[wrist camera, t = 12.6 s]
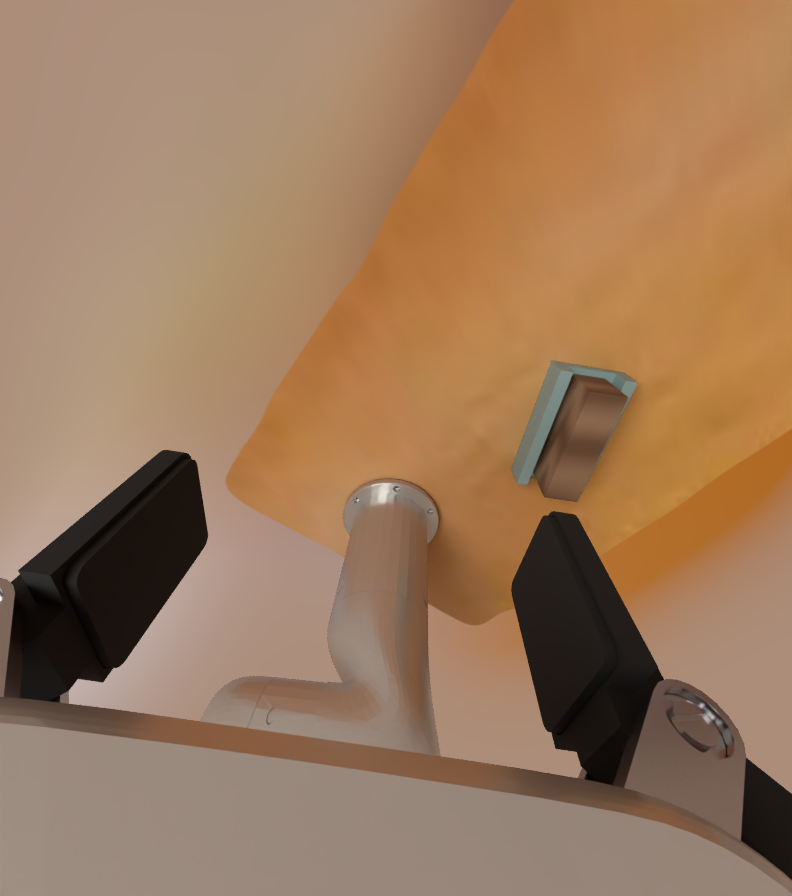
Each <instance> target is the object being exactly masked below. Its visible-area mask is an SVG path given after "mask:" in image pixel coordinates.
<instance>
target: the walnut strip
mask: <svg viewBox="0 0 792 896" xmlns="http://www.w3.org/2000/svg"><path fill="white" fill-rule="evenodd" d="M627 400H628V397H627V396H626V395H625V394H623V393H622V392H621V391H620V390H618V389H617V388H616V387H615V386H614V385H612V384H611V383H610V382H609V381H607V380H606V379H605V378H599V377H592V376H586V375H579V374H573V375H572V377H571V380H570V382H569V385H568V387H567V389H566V392H565V394H564V397H563V399H562V402H561V404H560V407H559V409H558V411H557V414H556V416H555V419H554V421H553V424H552V426H551V428H550V431H549V433H548V436H547V438H546V441H545V443H544V446H543V448H542V450H541V453H540V455H539V458H538V460H537V463H536V465H535V468H534V470H533V473H534V476H535V478H536V480H537V482H538V484H539V487H540V489H541V491H542V493H543V495H544V497H546V498H553V499H560V500H567V501H573V502H577V501H578V499H579V497H580V495H581V493H582V491H583V489H584V487H585V485H586V483H587V480H588V478H589V476H590V474H591V472H592V470H593V468H594V466H595V464H596V462H597V460H598V458H599V456H600V454H601V452H602V450H603V448H604V446H605V444H606V442H607V440H608V438H609V436H610V434H611V432H612V430H613V428H614V426H615V424H616V422H617V420H618V418H619V416H620V414H621V412H622V410H623V408H624V406H625V404H626V402H627Z"/></svg>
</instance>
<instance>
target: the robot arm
mask: <svg viewBox="0 0 792 896" xmlns="http://www.w3.org/2000/svg"><path fill="white" fill-rule="evenodd" d="M343 521H344V526H345V528H346V531H347V532H348V534H349V535H350V538H349V542H348V546H347V551H346V555H345V559H344V563H343V567H342V571H341V575H340V579H339V584H338V588H337V592H336V596H335V600H334V604H333V609H332V612H331V616H330V621H329V625H328V638H327V639H328V647H329V652H330V655H331V658H332V661H333V663H334V666H335V668H336V670H337V672H338V674H339V676H340V678H341V680H342V682H343V683H332V682H328V683H323V682H313V681H305V680H296V679H286V678H277V677H264V676H249V677H242V678H239V679H236V680H233V681H231V682H230V683H228V684H226V685H225V686H224V687H223V688H221V689H220V690H219V691H218V692H217V694H216V695H215V696H214V697H213V699H212V700H211V701H210V703H209V704H208V706H207V708H206V710H205V711H204V713H203V715H202V717H201V720H200V721H193V720H186V719H179V718H172V717H165V716H157V715H151V714H143V713H136V712H129V711H122V710H115V709H107V708H99V707H90V706H82V705H74V704H69V695H68V691H69V689H70V688H71V687H72V686H73V684H74V683H75V682H76V680H77V679H83V680H91V681H97V682H104V680H105V679H106V678H107V676H108V675H109V673H110V672H111V670H112V669H113V668H117V667H119V666H121V665H122V664H123V663H124V661H125V660H126V659H127V658H128V656H129V654H130V653H131V652H132V650H133V649H134V647H135V646H136V645H137V643H138V642H139V640H140V639H141V637H142V636H143V634H144V633H145V632H146V630H147V629H148V627H149V626H150V624H151V623H152V621H153V620H154V619H155V617H156V616H157V614H158V613H159V612H160V610H161V609H162V607H163V606H164V604H165V603H166V601H167V600H168V599H169V597H170V596H171V594H172V593H173V591H174V590H175V589H176V587H177V586H178V584H179V583H180V581H181V580H182V578H183V577H184V576H185V574H186V573H187V571H188V570H189V568H190V567H191V565H192V564H193V563H194V561H195V560H196V558H197V557H198V555H199V554H200V553H201V551H202V550H203V548H204V546H205V545H206V542H207V538H208V531H207V525H206V519H205V512H204V506H203V500H202V493H201V487H200V480H199V474H198V468H197V463H196V461H195V460H192V459H191V456H190V455H189V454H187V453H183V452H176V451H170V450H163V451H161V452H160V453H158V454H157V455H156V456H155V457H154V458H152V459H151V460H150V461H149V462H147V463H146V464H145V465H144V466H143V467H141V468H140V469H139V470H138V471H137V472H136V473H134V474H133V475H132V476H131V477H129V478H128V479H127V480H126V481H125V482H124V483H122V484H121V485H120V486H119V487H118V488H116V489H115V490H114V491H113V492H112V493H110V494H109V495H108V496H107V497H106V498H104V499H103V500H102V501H101V502H100V503H99V504H97V505H96V506H95V507H94V508H92V509H91V510H90V511H89V512H88V513H86V514H85V515H84V516H83V517H82V518H80V519H79V520H78V521H77V522H76V523H74V524H73V525H72V526H71V527H70V528H69V529H67V530H66V531H65V532H64V533H62V534H61V535H60V536H59V537H58V538H56V539H55V540H54V541H53V542H52V543H50V544H49V545H48V546H47V547H46V548H45V549H43V550H42V551H41V552H40V553H39V554H37V555H36V556H35V557H34V558H33V559H31V560H30V561H29V562H28V563H27V564H25V565H24V566H23V567H22V568H21V569H19V573H20V575H19V576H18V577H17V578H16V579H14V580H13V581H12V582H11V583H10V582H9V581H8V580H6V579H2V578H0V896H792V794H791V793H790V792H788V791H787V790H786V789H785V788H783V787H782V786H781V785H779V784H778V783H777V782H776V781H775V780H773V779H772V778H771V777H770V776H768V775H767V774H766V773H765V772H763V771H762V770H761V769H760V768H758V767H757V766H756V765H755V764H753V763H752V762H751V761H750V760H748V759H747V758H746V754H745V747H744V743H743V740H742V738H741V736H740V734H739V731H738V729H737V728H736V727H735V725H734V724H733V722H732V721H731V719H730V718H729V716H728V715H727V714H726V713H725V712H724V711H723V710H722V709H721V708H720V707H719V705H718V704H717V703H716V702H714V701H713V700H712V699H710V698H709V697H708V696H707V695H706V694H704V693H703V692H702V691H700V690H698V689H697V688H695V687H693V686H692V685H689V684H687V683H684V682H682V681H679V680H673V679H665V680H664V679H663V677H662V675H661V673H660V671H659V669H658V666H657V664H656V663H655V661H654V659H653V657H652V655H651V653H650V651H649V650H648V647H647V646H646V644H645V642H644V641H643V638H642V637H641V634H640V633H639V631H638V629H637V627H636V625H635V623H634V621H633V620H632V618H631V616H630V614H629V612H628V610H627V608H626V607H625V605H624V603H623V601H622V599H621V597H620V595H619V594H618V592H617V590H616V588H615V586H614V584H613V582H612V580H611V579H610V577H609V575H608V573H607V571H606V569H605V567H604V566H603V564H602V562H601V560H600V558H599V556H598V554H597V553H596V551H595V549H594V547H593V545H592V543H591V541H590V540H589V538H588V536H587V534H586V532H585V530H584V528H583V527H582V525H581V523H580V521H579V519H578V518H577V516H576V515H574V514H568V513H562V512H555V511H553V512H551V513H550V514H549V515H548V516H543V517H542V519H541V521H540V523H539V525H538V527H537V530H536V532H535V534H534V536H533V538H532V540H531V543H530V545H529V547H528V549H527V551H526V553H525V556H524V558H523V560H522V562H521V564H520V566H519V569H518V571H517V573H516V575H515V577H514V579H513V582H512V589H511V590H512V597H513V601H514V605H515V609H516V613H517V617H518V622H519V626H520V630H521V634H522V638H523V642H524V647H525V651H526V655H527V658H528V663H529V667H530V671H531V676H532V680H533V684H534V688H535V692H536V696H537V700H538V704H539V709H540V712H541V717H542V721H543V724H544V727H545V729H546V730H547V731H548V732H551V733H552V737H553V740H554V744H555V748H556V749H561V750H568V751H575V752H577V754H578V758H579V761H580V764H581V766H582V769H581V772H580V774H579V777H578V778H572V777H566V776H560V775H555V774H549V773H543V772H537V771H532V770H525V769H520V768H514V767H507V766H501V765H494V764H488V763H481V762H474V761H468V760H460V759H454V758H447V757H441V756H440V750H439V743H438V737H437V731H436V725H435V718H434V711H433V705H432V697H431V688H430V677H429V662H428V661H429V660H428V606H427V605H428V595H427V544H429V543H430V542H431V541H432V539H433V538H434V536H435V535H436V532H437V530H438V524H439V517H438V511H437V507H436V505H435V503H434V501H433V500H432V498H431V497H430V496H429V495H428V494H427V493H426V492H425V491H424V490H422V489H421V488H419V487H417V486H416V485H414V484H411V483H409V482H406V481H402V480H397V479H381V480H375V481H372V482H368V483H366V484H364V485H362V486H360V487H359V488H358V489H356V490H355V491H354V492H353V493H352V494H351V495H350V497H349V498H348V500H347V502H346V505H345V508H344V513H343Z"/></svg>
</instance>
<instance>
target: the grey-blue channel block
mask: <svg viewBox="0 0 792 896" xmlns="http://www.w3.org/2000/svg"><path fill="white" fill-rule="evenodd" d="M573 374H579V375H586V376H592V377H599V378H605V379H606V380H607V381H609V382H610V383H611V384H612V385H614V386H615V387H616V388H617V389H618V390H620V391H621V392H622V393H623V394H625V395H626V396H627V397H628V400H627V402H626V404H625V406H624V408H623V410H622V412H621V414H620V416H619V418H618V420H617V422H616V424H615V426H614V428H613V430H612V432H611V434H610V436H609V438H608V440H607V442H606V444H605V446H604V448H603V450H602V452H601V454H600V456H599V458H598V460H597V462H598V461H599V459H600V457H601V455H602V453H603V451H604V449H605V447H606V445H607V443H608V441H609V439H610V437H611V435H612V433H613V431H614V429H615V427H616V425H617V423H618V421H619V419H620V418H621V416H622V414H623V412H624V410H625V408H626V406H627V404H628V402H629V400H630V398H631V396H632V394H633V392H634V390H635V388H636V386H637V384H638V382H636V381H635V380H633V379H632V378H631V377H629V376H628V375H626V374H625V373H623V372H617V371H611V370H605V369H599V368H593V367H587V366H581V365H575V364H569V363H563V362H557V361H551V364H550V367H549V369H548V372H547V375H546V378H545V380H544V383H543V386H542V388H541V391H540V394H539V396H538V399H537V402H536V404H535V407H534V410H533V412H532V415H531V418H530V421H529V423H528V426H527V429H526V431H525V434H524V437H523V439H522V442H521V445H520V447H519V450H518V453H517V455H516V458H515V461H514V464H513V466H512V472H513V475H514V477H515V480H516V483H517V484H522V485H528V482H529V480H530V477H535V476H534V473H533V470H534V468H535V465H536V463H537V460H538V458H539V455H540V453H541V450H542V448H543V446H544V443H545V441H546V438H547V436H548V433H549V431H550V428H551V426H552V424H553V421H554V419H555V416H556V414H557V411H558V409H559V407H560V404H561V402H562V399H563V397H564V394H565V392H566V389H567V387H568V385H569V382H570V380H571V377H572V375H573ZM597 462H596V464H597ZM596 464H595V466H596ZM595 466H594V468H595ZM594 468H593V470H594ZM593 470H592V472H593ZM592 472H591V474H592ZM591 474H590V476H591ZM590 476H589V478H590ZM589 478H588V480H589ZM588 480H587V482H588ZM586 484H587V483H586ZM585 486H586V485H585ZM584 488H585V487H584ZM583 490H584V489H583ZM582 492H583V491H582ZM581 494H582V493H581Z"/></svg>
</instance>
